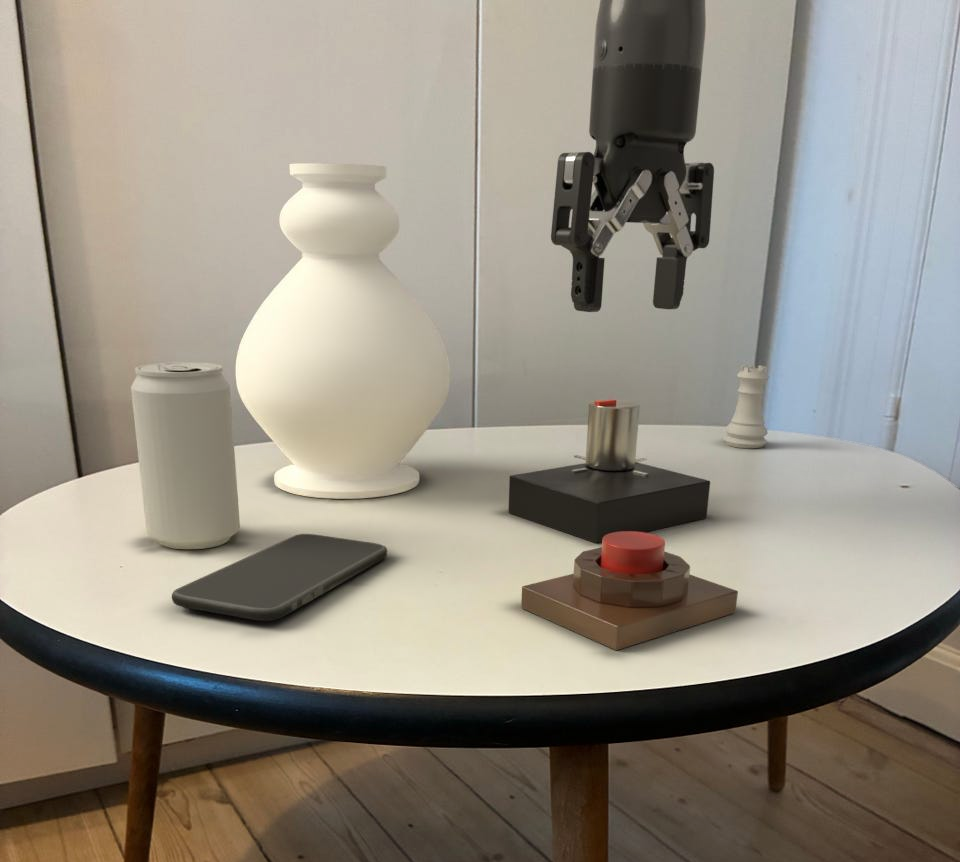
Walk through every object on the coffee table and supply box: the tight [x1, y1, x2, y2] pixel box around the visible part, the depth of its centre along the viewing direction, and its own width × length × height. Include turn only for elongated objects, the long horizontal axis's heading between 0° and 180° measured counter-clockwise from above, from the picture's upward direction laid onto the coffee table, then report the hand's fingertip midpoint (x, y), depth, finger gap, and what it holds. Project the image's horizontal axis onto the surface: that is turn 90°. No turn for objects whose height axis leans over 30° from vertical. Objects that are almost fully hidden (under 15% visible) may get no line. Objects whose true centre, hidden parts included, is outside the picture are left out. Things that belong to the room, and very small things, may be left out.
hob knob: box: [585, 398, 640, 471], centre depth 82 cm, size 4×4×5 cm
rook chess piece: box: [723, 364, 770, 449], centre depth 106 cm, size 4×4×8 cm
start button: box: [601, 531, 666, 574], centre depth 59 cm, size 4×4×2 cm
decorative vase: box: [235, 162, 451, 500], centre depth 85 cm, size 18×18×25 cm
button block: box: [520, 546, 739, 651], centre depth 60 cm, size 10×8×3 cm
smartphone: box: [171, 533, 388, 622], centre depth 64 cm, size 7×1×15 cm
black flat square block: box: [508, 454, 711, 544], centre depth 81 cm, size 13×12×3 cm
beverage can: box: [130, 361, 241, 550], centre depth 70 cm, size 6×6×12 cm
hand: (627, 309), depth 77 cm, fingers open, 8 cm apart
